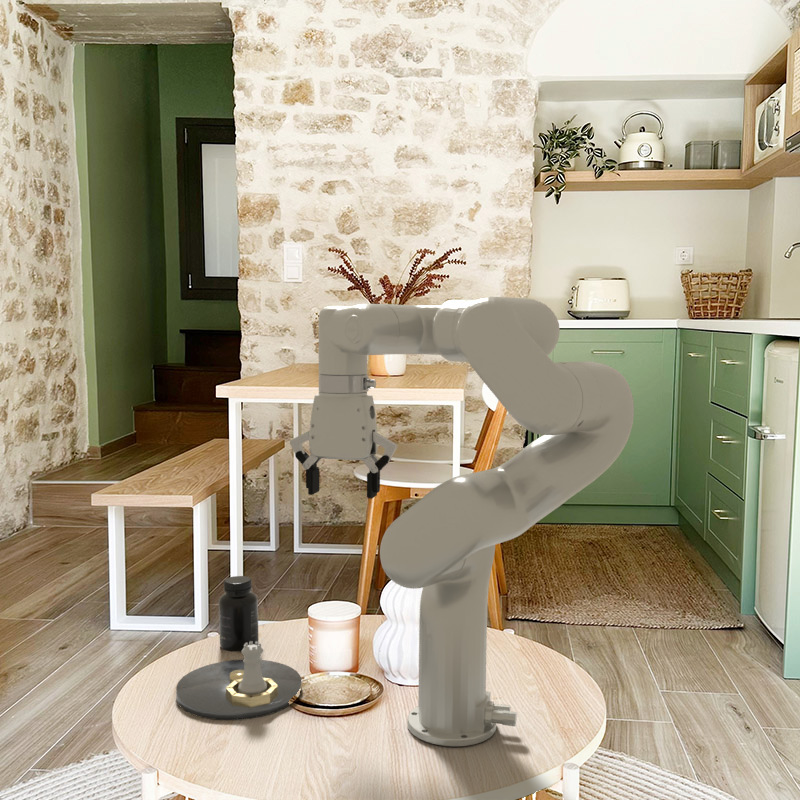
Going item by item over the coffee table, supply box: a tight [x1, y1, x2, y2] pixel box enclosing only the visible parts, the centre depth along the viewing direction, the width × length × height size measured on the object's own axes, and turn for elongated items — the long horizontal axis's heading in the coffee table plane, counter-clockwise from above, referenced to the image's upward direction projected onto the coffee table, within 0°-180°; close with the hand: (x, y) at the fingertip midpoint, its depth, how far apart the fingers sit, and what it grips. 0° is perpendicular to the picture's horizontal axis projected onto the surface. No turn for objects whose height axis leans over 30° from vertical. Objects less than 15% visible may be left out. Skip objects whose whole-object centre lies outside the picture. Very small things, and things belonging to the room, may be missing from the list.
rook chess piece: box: [238, 641, 267, 695], centre depth 128 cm, size 4×4×8 cm
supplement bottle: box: [218, 575, 259, 653], centre depth 153 cm, size 7×7×12 cm
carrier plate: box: [175, 658, 302, 721], centre depth 134 cm, size 19×19×3 cm
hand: (342, 495), depth 135 cm, fingers open, 9 cm apart
